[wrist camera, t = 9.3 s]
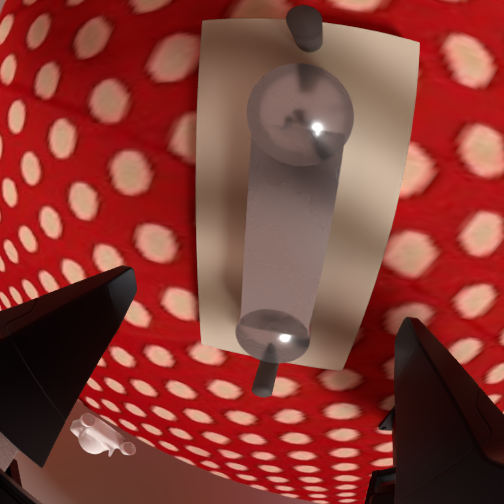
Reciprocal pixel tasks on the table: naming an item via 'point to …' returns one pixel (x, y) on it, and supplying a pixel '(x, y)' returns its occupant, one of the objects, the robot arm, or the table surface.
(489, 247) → the table surface
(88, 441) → the plane toy
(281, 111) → the grey baby rattle
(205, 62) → the peg rack
